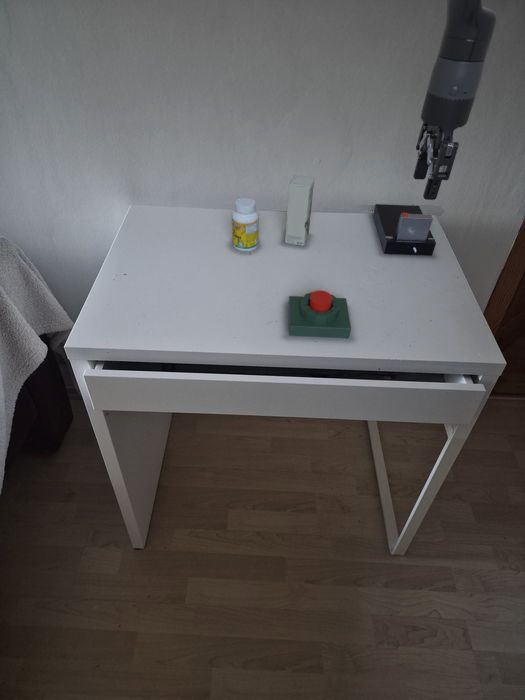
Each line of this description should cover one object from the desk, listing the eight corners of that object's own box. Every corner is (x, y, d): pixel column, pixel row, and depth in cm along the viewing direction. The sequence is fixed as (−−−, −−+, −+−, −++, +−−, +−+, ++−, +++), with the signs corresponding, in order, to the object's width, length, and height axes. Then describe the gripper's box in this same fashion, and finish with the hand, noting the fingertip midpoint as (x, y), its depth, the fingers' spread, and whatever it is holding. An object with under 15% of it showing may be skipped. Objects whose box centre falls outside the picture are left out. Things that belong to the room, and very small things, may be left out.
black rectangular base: (436, 266, 90) (441, 252, 87) (386, 264, 90) (389, 250, 87) (416, 217, 103) (419, 204, 101) (372, 215, 104) (375, 203, 101)
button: (330, 298, 76) (331, 290, 74) (331, 312, 73) (333, 304, 72) (308, 298, 76) (309, 289, 74) (309, 311, 73) (310, 303, 72)
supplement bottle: (262, 248, 93) (264, 205, 86) (240, 254, 91) (239, 211, 84) (250, 236, 96) (250, 193, 89) (228, 242, 94) (226, 199, 87)
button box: (344, 307, 80) (347, 289, 77) (348, 338, 74) (353, 320, 71) (288, 305, 80) (290, 287, 77) (288, 336, 74) (290, 317, 71)
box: (304, 247, 93) (310, 188, 84) (283, 243, 94) (288, 185, 85) (309, 234, 97) (315, 176, 88) (289, 231, 98) (293, 173, 88)
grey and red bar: (424, 236, 92) (431, 213, 88) (425, 241, 91) (433, 217, 87) (395, 235, 92) (401, 212, 88) (396, 239, 91) (402, 216, 87)
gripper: (490, 104, 66) (454, 207, 77) (462, 79, 76) (434, 173, 87) (439, 102, 66) (411, 205, 77) (418, 77, 76) (396, 171, 87)
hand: (423, 188), depth 82 cm, fingers open, 8 cm apart
